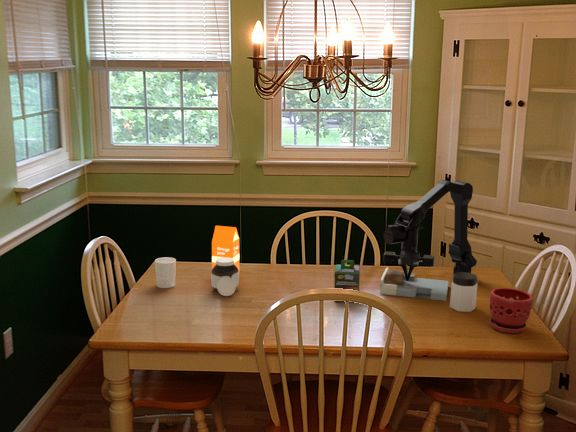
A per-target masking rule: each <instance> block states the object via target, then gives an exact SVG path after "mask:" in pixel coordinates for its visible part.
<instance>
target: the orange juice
mask: <svg viewBox="0 0 576 432" xmlns="http://www.w3.org/2000/svg"><path fill="white" fill-rule="evenodd" d="M212 236H213V237H212V240H211V270H212V269H213V267H214V266H215V265H216V259H218V258H222V257H229V258H233V259H234V265H236V266H237V268H238V270H239V271H240V258H241V257H240V253H241V252H240V237H239V233H238V229H237V227H236V226H234V227H233V226H224V225H215V226H214V232H213V235H212Z"/></svg>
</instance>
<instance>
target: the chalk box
mask: <svg viewBox="0 0 576 432" xmlns="http://www.w3.org/2000/svg"><path fill="white" fill-rule="evenodd" d="M360 268H361V265H360V264H355V260H353V259H342V260H341V262H340V264H335V266H334V276H333V277H334V279H333V282H334V284H333V285H334V287H333V289H334V288H343V289H353V290H358V291H359V292H360V283H361V281H360V280H361V278H360V276H361V275H360V273H361V269H360ZM333 301H334V300H333ZM334 302H336V301H334ZM338 302H342V301H338ZM342 303H343V302H342Z"/></svg>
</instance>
